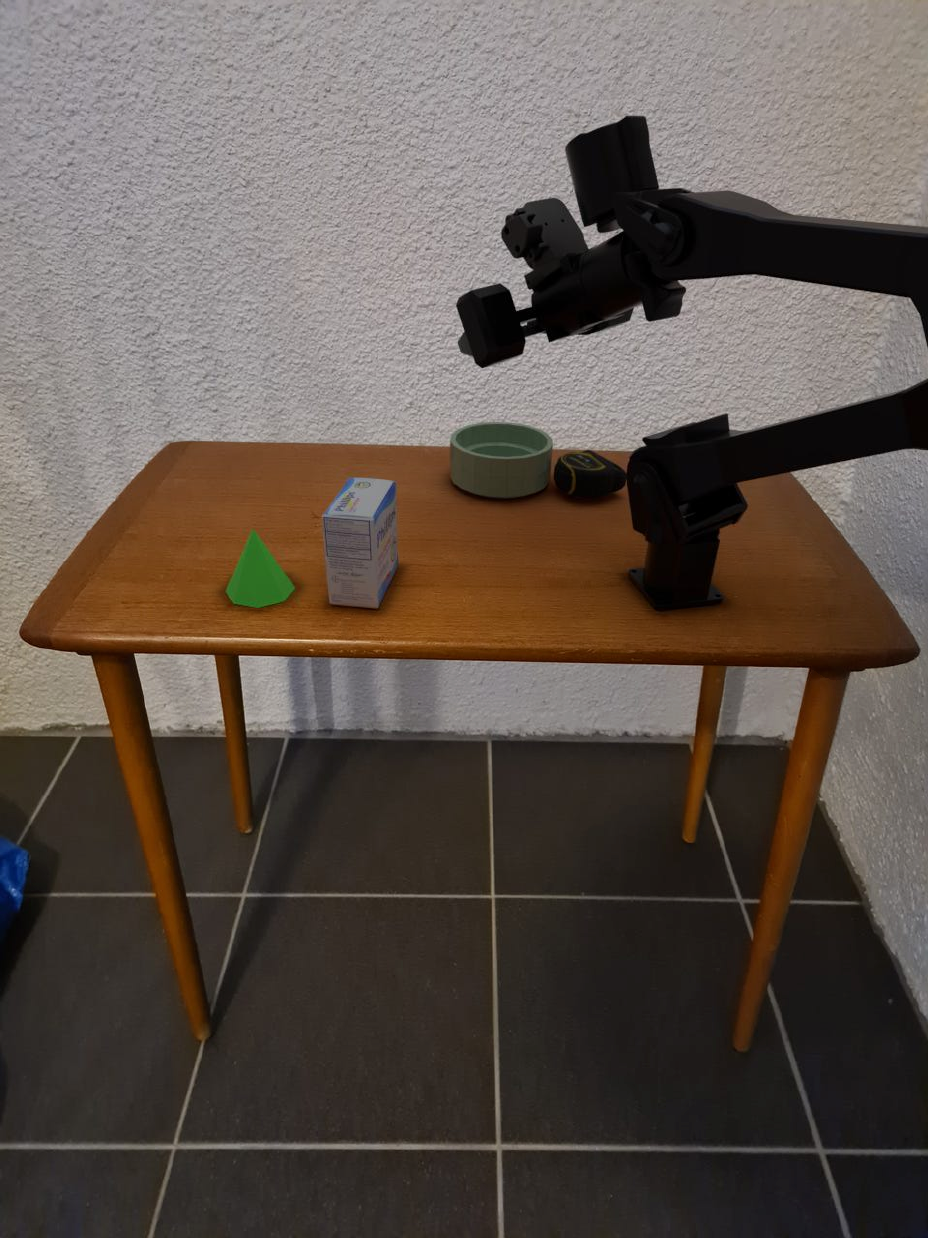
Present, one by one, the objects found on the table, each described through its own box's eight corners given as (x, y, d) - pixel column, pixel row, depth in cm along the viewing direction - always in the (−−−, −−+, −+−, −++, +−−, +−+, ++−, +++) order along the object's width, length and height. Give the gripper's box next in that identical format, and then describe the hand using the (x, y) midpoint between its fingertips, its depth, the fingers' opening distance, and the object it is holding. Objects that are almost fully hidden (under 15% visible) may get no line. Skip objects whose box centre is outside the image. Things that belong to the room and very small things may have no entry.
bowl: (562, 498, 90) (567, 454, 87) (462, 506, 88) (464, 461, 85) (531, 459, 99) (534, 419, 96) (440, 466, 97) (440, 424, 94)
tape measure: (627, 498, 90) (631, 466, 88) (575, 509, 88) (579, 476, 86) (590, 475, 95) (594, 444, 93) (540, 485, 93) (543, 454, 91)
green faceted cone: (228, 574, 74) (219, 513, 71) (296, 571, 75) (290, 511, 72) (221, 609, 69) (211, 546, 66) (294, 606, 70) (287, 543, 67)
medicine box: (378, 611, 70) (375, 518, 65) (327, 605, 70) (320, 513, 66) (399, 566, 76) (397, 479, 72) (352, 561, 77) (347, 474, 72)
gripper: (650, 169, 72) (537, 239, 85) (491, 196, 62) (391, 271, 75) (685, 297, 74) (570, 346, 87) (537, 342, 65) (432, 390, 78)
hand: (495, 336), depth 82 cm, fingers open, 9 cm apart
